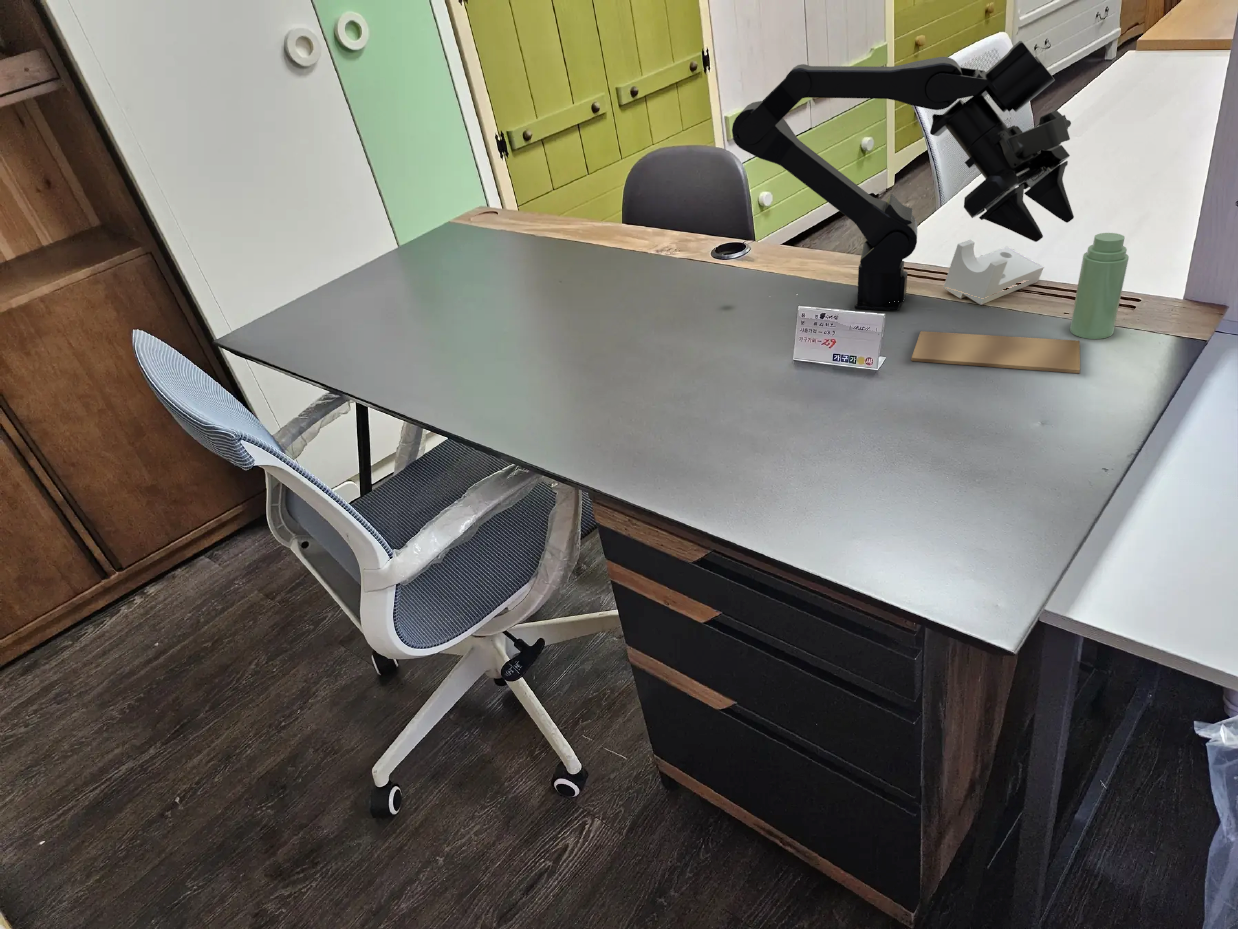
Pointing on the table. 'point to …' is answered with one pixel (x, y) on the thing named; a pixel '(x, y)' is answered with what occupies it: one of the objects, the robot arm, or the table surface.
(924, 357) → the cork pad
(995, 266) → the bracket
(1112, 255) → the bottle
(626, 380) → the table surface
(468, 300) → the table surface
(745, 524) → the table surface
